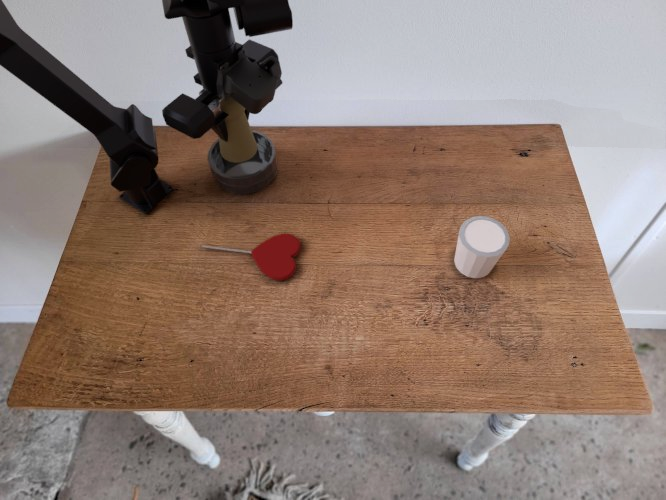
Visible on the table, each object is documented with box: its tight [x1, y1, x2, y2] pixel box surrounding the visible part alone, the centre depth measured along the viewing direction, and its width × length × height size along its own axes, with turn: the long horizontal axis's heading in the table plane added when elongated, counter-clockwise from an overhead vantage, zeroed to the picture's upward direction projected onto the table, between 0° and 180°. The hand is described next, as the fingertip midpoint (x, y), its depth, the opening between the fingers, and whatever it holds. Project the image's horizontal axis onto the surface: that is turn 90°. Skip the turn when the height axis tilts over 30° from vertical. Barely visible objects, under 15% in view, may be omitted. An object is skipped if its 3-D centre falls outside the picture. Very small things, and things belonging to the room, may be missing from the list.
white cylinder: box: [453, 215, 511, 279], centre depth 69 cm, size 7×7×7 cm
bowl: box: [206, 129, 279, 195], centre depth 81 cm, size 11×11×4 cm
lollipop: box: [201, 233, 302, 281], centre depth 73 cm, size 8×1×15 cm
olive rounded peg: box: [218, 96, 257, 163], centre depth 74 cm, size 6×6×11 cm
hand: (235, 131), depth 75 cm, fingers closed on olive rounded peg, 4 cm apart
